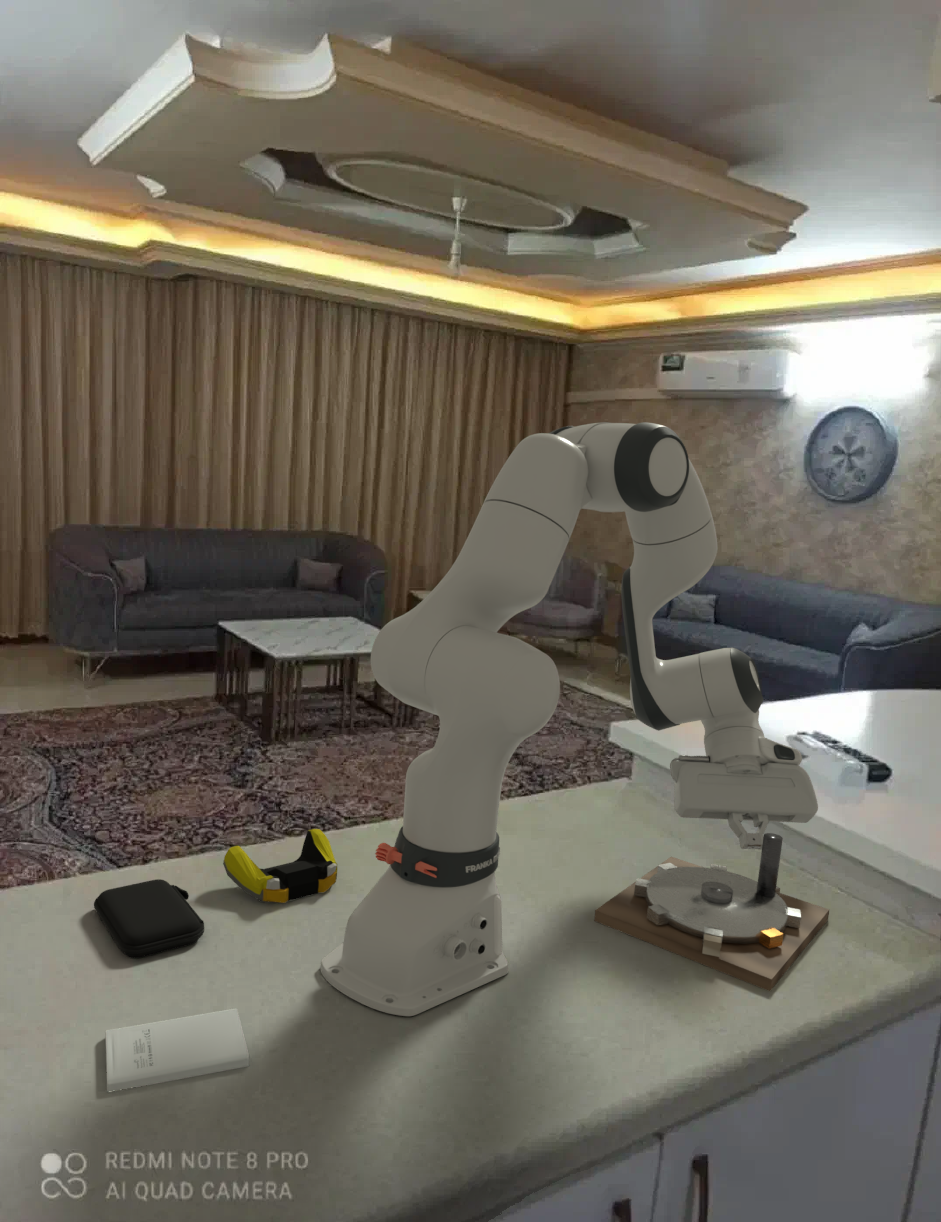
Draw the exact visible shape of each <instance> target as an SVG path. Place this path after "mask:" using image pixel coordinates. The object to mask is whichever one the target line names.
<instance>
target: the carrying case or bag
mask: <svg viewBox="0 0 941 1222" xmlns="http://www.w3.org/2000/svg"><path fill="white" fill-rule="evenodd" d="M189 898H190V895H189V893H188V891H187V890H185V889H182V888H181V887H179V886H177V885H174V884H170V883H169V882H168V881H166V880H164V879H159V878H158V879H152V880H147V881H143V882H137V883H132V884H128V885H124V886H119V887H113V888H110V889H106V890H104V891H102V892H101V893H99V895H98V896H97V897H96V898H95V900H94V901H93V907H94V910H95V912H96V914H97V916H98V917H99V919H100V920H101V922H102V924H103V925H104V926H105V928H106V930H107V931H108V933H109V935H110V936H111V938H112V939H113V941H114V943H115V944H116V946H117V948H118V949H119V950H120V951H121V953H123V954H124V955H125V956H126V957H128V958H130V959H139V958H145V957H147V956H149V957H150V956H153V955H155V954H159V953H163V952H167V951H171V950H175V949H179V948H182V947H186V946H190V945H193V944H194V943H197V942H198V940H199V939H200V938H201V937H203V935H204V933H205V922H204V920H203V919H202V918H201V917H200V915H198V913H197V912H196V911H195V909H194V908H193V907H192V906H191V905H190V903H189V902H188V901H187V900H188V899H189Z"/></svg>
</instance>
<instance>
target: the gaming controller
mask: <svg viewBox="0 0 941 1222" xmlns="http://www.w3.org/2000/svg"><path fill="white" fill-rule="evenodd" d="M300 852H301V853H300V856H299V857H298V858H297V859H295V860H294V861H292V862H288V863H283V864H278V865H274V866H270V867H266V868H259V866H257V864H256V863H255V862H254V861H253V860H252V859H251V858H250V856H249V855H248V853H247V852H246V851H245V850H244V849H243V847H241V846H239V845H235V846H231V847H229V848H228V849H227V851H226V853H225V855H224V859H223V863H222V864H223V867H224V870H225V872H226V875H227V877H228V878H230V879H231V880H232V882H234V883H235V884H236V885H237V887H239V888H240V889H241V890H242V891H243V892H245V893H247V894H248V895H249V896H251V897H253V898H255V899H256V900H257V901H259V902H262V903H275V904H279V903H280V904H281V903H282V904H285V903H287V902H290V901H294V900H297V899H298V900H299V899H301V898H305V897H308V896H309V897H310V896H313V895H318V894H319V893H325V892H327V891H329V889H330V888H331V887H333V885H335V883H336V882H337V880H338V879H337V877H338V863H337V861H336V859H335V855H334V853H333V852H334V851H333V849H332V846H331V843H330V840H329V838H327V835H326V834H325V832H323V831H322V830H321V829H320V828H312V829H308V830H307V831H306V835H305V838H304V841H303V845H302V849H301V851H300Z"/></svg>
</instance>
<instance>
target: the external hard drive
mask: <svg viewBox="0 0 941 1222" xmlns="http://www.w3.org/2000/svg"><path fill="white" fill-rule="evenodd" d="M104 1033H105V1036H104V1037H105V1066H106V1072H107V1073H106V1092H107V1091H108V1092H109V1091H113V1090H120V1089H126V1090H128V1089H127V1088H131V1087H136V1088H139V1087H140V1088H141V1086H142V1087H147V1086H152V1085H157V1084H162V1083H168V1082H173V1081H178V1080H184V1079H189V1078H195V1077H200V1076H205V1075H210V1074H215V1073H216V1074H217V1073H220V1072H221V1073H222V1072H226V1071H230V1070H231V1071H232V1070H236V1069H242V1068H247V1067H249V1066H250V1054H249V1050H248V1049H249V1048H248V1044H247V1041H246V1037H245V1035H244V1034H245V1033H244V1030H243V1025H242V1022H241V1018H240V1014H239V1010H238V1008H230V1009H224V1010H218V1011H213V1012H212V1011H211V1012H206V1013H200V1014H194V1015H188V1016H182V1017H178V1018H177V1017H176V1018H171V1019H166V1020H165V1019H163V1020H160V1021H159V1020H158V1021H154V1022H148V1023H142V1024H136V1025H130V1026H123V1027H120V1028H119V1027H118V1028H111V1029H106V1030H105V1031H104ZM146 1085H147V1086H146ZM131 1089H132V1088H131ZM120 1091H121V1090H120Z"/></svg>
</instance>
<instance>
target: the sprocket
mask: <svg viewBox="0 0 941 1222" xmlns="http://www.w3.org/2000/svg"><path fill="white" fill-rule="evenodd" d="M783 839H784V838H783V836H781V835H779V834H776V833H772V832H766V833H764V834H763V845H762V849H761V854H760V859H759V860H760V861H759V868H758V869H759V870H758V876H757V880H754V879H752V878H750V877H747V876H744V875H741V874H738V873H735V872H732V871H727V869H728V866H726V865H725V866H724V865H720V864H719V865H718V864H714V863H711V864H710V867H705V866H704V867H703V866H701V867H676V866H675V865H673V864H671V863H666V864H661V863H660V864H661V865H660V864H658V865H657V866H658V871H657V873H656V874H655V875H653V876H652V877H651V878H650V879H649V880H645V879H640V878H641V877H639V878H638V877H637V878H636V880H635V882H636V883H635V890H634V895H635V896H640V897H645V898H646V901H647V904H648V911H647V918H648V919H649V920H651V921H652V922H653V923H655V924H656V925H658V926H659V925H664V924H669V925H671V926H673V927H675V928H677V929H679V930H681V931H684V932H686V933H689V934H692V935H695V936H698V937H701V938H703V942H704V934H707V935H712V936H717V937H722V939H721V945H722V942H727V943H742V944H746V943H758V942H759V943H761V944H762V945H764V946H765V947H767V948H768V949H770V948H774V947H778V946H782V941H783V932H784V930H785V929H786V926H790V927H795V928H800V921H801V913H800V910H799V909H794V908H789V907H787V905H786V903H785V902H784V900H783V899H782V898H781V897H780V896H779V894H780V893H781V887H779V886H777V883H778V877H779V870H780V869H779V868H780V862H781V853H782V848H783V847H782V846H783V841H784V840H783ZM702 944H703V943H702Z"/></svg>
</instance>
